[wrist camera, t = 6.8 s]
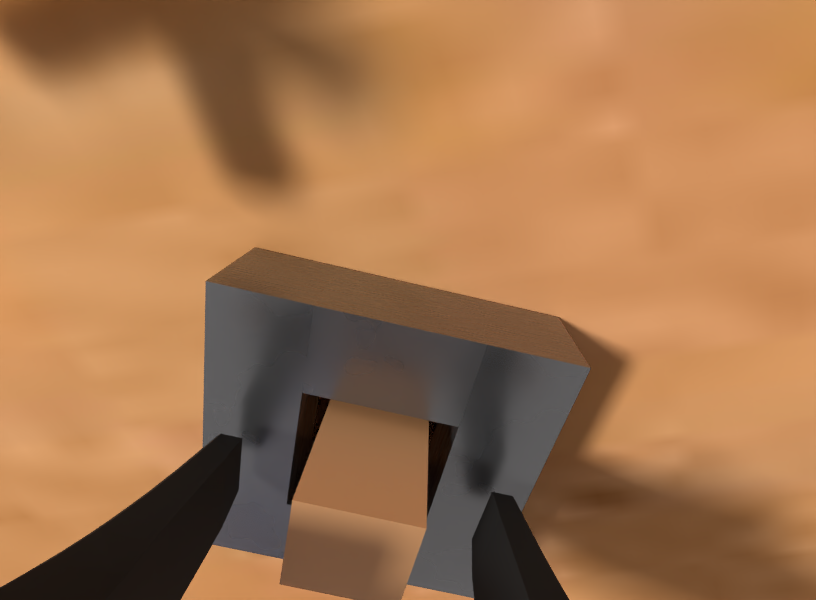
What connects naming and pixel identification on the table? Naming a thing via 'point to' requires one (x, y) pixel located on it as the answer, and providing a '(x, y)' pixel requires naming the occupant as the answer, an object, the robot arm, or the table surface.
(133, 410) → the table surface
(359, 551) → the tan wooden block
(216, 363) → the grey square frame
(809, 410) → the table surface
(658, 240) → the table surface
